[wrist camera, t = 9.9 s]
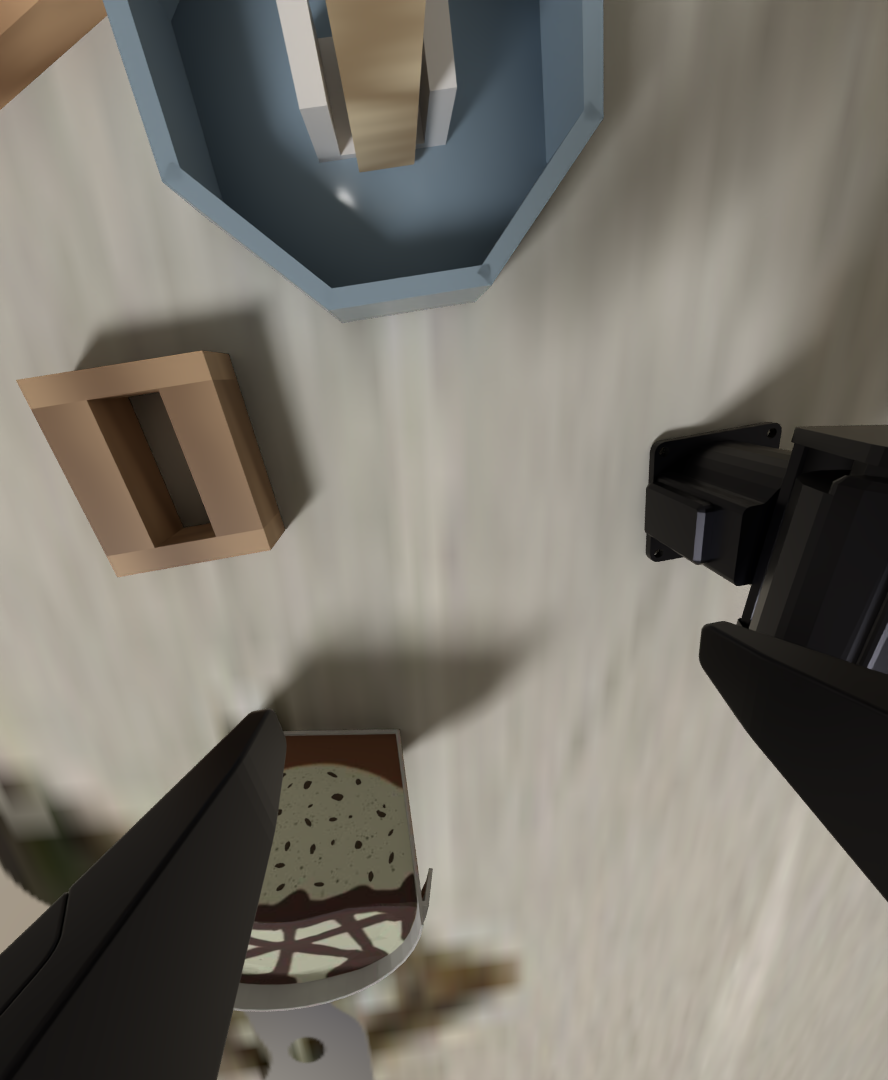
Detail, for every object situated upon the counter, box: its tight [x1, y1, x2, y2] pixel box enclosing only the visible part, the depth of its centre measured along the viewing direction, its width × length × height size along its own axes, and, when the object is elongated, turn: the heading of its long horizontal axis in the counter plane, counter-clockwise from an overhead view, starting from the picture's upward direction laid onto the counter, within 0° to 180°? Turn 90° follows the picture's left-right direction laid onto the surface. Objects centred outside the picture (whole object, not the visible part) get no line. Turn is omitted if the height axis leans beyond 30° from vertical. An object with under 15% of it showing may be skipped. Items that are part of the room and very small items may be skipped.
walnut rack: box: [16, 351, 285, 577], centre depth 17 cm, size 7×8×2 cm
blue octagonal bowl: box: [103, 0, 604, 323], centre depth 13 cm, size 13×13×4 cm
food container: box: [233, 729, 433, 1012], centre depth 22 cm, size 12×6×10 cm, turn 85°
